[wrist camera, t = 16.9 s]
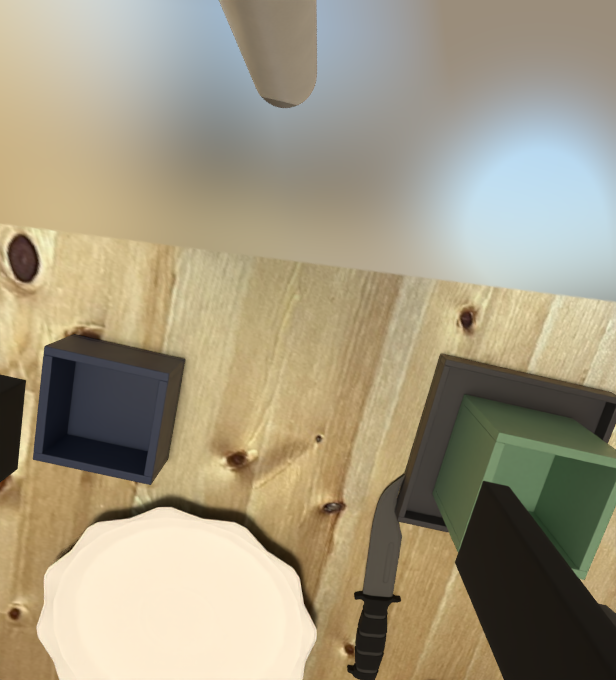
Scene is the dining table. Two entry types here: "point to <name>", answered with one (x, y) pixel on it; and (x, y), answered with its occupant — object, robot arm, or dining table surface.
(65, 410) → the navy tub
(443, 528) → the tray
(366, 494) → the dining table surface
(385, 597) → the knife
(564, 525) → the green tub
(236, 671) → the plate
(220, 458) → the dining table surface
